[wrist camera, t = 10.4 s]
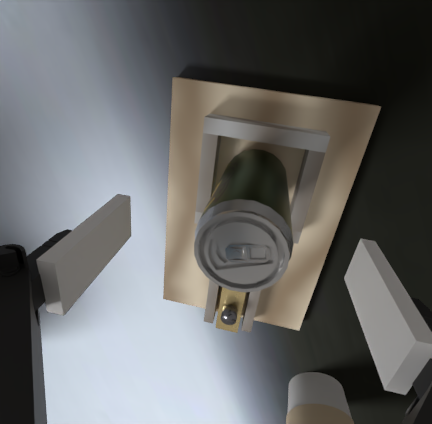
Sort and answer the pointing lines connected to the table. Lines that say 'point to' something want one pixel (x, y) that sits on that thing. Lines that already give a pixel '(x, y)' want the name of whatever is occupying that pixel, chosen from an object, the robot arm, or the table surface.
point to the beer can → (247, 225)
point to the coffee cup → (317, 400)
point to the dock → (296, 176)
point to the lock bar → (230, 310)
